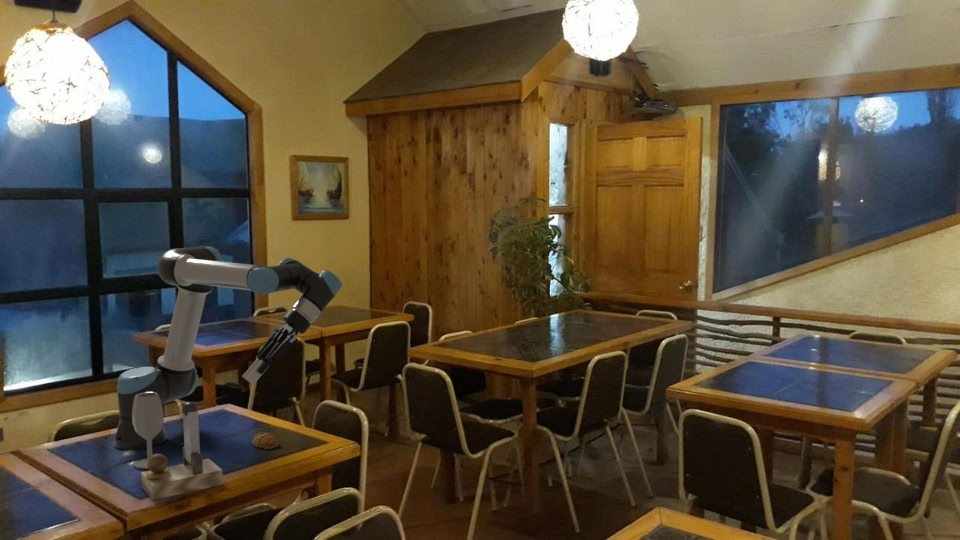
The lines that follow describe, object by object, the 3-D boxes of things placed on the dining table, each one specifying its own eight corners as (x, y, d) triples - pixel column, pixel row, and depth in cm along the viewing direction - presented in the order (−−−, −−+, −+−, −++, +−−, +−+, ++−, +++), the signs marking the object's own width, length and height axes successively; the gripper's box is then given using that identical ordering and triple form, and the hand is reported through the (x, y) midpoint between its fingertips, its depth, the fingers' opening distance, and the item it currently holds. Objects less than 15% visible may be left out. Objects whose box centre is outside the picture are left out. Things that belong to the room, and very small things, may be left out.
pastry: (284, 447, 240) (284, 435, 240) (265, 452, 235) (264, 440, 235) (268, 440, 247) (268, 429, 246) (249, 446, 242) (249, 434, 241)
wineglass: (146, 471, 219) (142, 399, 217) (127, 466, 223) (123, 395, 221) (172, 462, 226) (169, 392, 224) (154, 458, 231) (150, 389, 229)
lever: (189, 470, 205) (185, 406, 203) (181, 463, 211) (178, 400, 209) (204, 467, 207) (201, 403, 206) (196, 460, 213) (193, 398, 211)
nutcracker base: (152, 500, 197) (150, 462, 197) (141, 486, 207) (139, 450, 206) (222, 484, 208) (221, 448, 207) (209, 472, 218) (207, 437, 217)
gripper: (321, 327, 220) (267, 393, 212) (299, 321, 233) (247, 383, 225) (303, 311, 217) (247, 377, 208) (282, 305, 229) (229, 367, 221)
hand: (248, 380), depth 216 cm, fingers open, 3 cm apart
